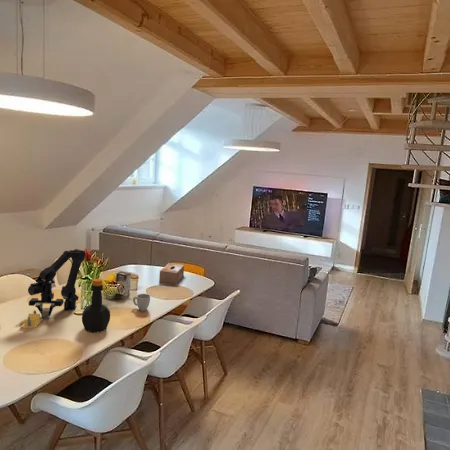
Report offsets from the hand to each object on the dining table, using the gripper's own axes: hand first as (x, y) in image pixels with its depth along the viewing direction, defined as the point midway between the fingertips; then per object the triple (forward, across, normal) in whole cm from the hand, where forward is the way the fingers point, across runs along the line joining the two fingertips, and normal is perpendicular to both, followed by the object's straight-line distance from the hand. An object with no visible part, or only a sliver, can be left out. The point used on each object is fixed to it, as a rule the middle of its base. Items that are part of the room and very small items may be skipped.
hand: (46, 315), depth 234 cm
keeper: (+1, +5, +10) cm, 11 cm away
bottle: (+1, -32, +15) cm, 35 cm away
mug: (+1, -56, -16) cm, 58 cm away
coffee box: (+1, -41, -44) cm, 60 cm away
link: (+1, 0, 0) cm, 1 cm away
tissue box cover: (+2, -78, -85) cm, 115 cm away
